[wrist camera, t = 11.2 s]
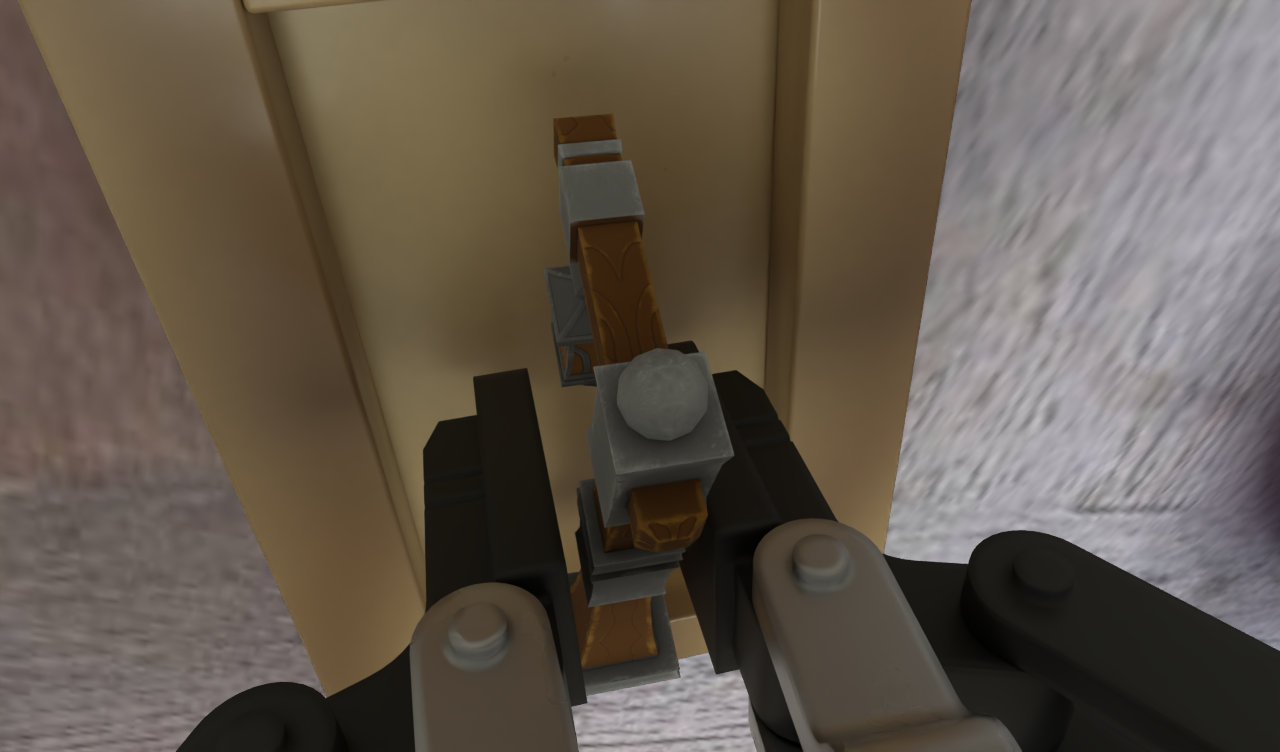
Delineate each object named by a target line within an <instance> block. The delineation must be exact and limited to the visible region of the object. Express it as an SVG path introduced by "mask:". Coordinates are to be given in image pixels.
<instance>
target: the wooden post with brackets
mask: <svg viewBox="0 0 1280 752" xmlns="http://www.w3.org/2000/svg"><path fill="white" fill-rule="evenodd" d="M553 129H554V158H555V162H556V165H557V168H558V185H559V212H560V217H561V222H562V227H563V232H564V237H565V242H566V247H567V252H568V254H567V256H568V261H569V265H568V266H559V267H550V268H544V276H545V282H546V287H547V293H548V298H549V304H550V310H551V315H552V321H551V322H550V323H551V330H552V336H553V342H554V347H555V353H556V358H557V364H558V370H559V375H560V381H561V386H562V387H569V386H576V385H584V386H594V387H596V386H597V389H596V397H595V404H594V412H593V420H592V424H591V426H590V427H589V428H588V430H587V431H586V436H587V441H588V446H589V451H590V456H591V461H592V466H593V471H594V477H595V478H593V479H586V480H580V481H579V485H580V487H579V488H576V490H577V496H578V499H576V500H577V506H578V512H579V517H580V526H579V528H578V529H577V531H576V532H575V536H576V542H577V548H578V554H579V560H580V566H581V569H580V571H578V572H572V573H568V579H569V586H570V592H571V599H572V606H573V612H574V619H575V625H576V632H577V638H578V645H579V652H580V658H581V665H582V671H583V678H584V684H585V691H586V696H588V695H593V694H598V693H603V692H609V691H614V690H619V689H624V688H629V687H635V686H640V685H645V684H650V683H655V682H660V681H666V680H671V679H676V678H681V677H680V672H679V670H680V668H679V663H678V658H677V654H676V649H675V644H674V640H673V635H672V630H671V626H670V621H669V617H668V612H667V607H666V603H665V598H664V594H666V591H665V583H666V581H667V578H668V576H669V574H670V572H671V571H672V570H674V569H677V568H679V564H678V561H680V560H683V556H682V553H683V552H686V551H685V548H686V547H689V546H690V545H691V544H692V543H693V542H694V541H695V540H696V539H698V538H699V537H700V535H701V532H702V530H703V527H704V524H705V521H706V519H707V516H708V512H707V501H706V497H707V495H708V493H709V491H710V489H711V487H712V485H713V483H714V481H715V479H716V476H717V474H718V472H719V470H720V468H721V466H722V464H724V463H725V462H726V461H728V460H729V459H731V458H732V457H733V456H734V452H733V449H732V445H731V441H730V438H729V434H728V431H727V427H726V423H725V420H724V416H723V413H722V409H721V405H720V402H719V398H718V395H717V391H716V388H715V384H714V380H713V377H712V373H711V370H710V366H709V362H708V359H707V355H706V352H698V353H691V354H683V353H681V352H680V351H678V350H670V349H668V345H667V340H666V336H665V332H664V328H663V324H662V320H661V316H660V312H659V308H658V304H657V300H656V296H655V292H654V288H653V284H652V280H651V276H650V272H649V267H648V263H647V259H646V255H645V251H644V247H643V243H642V234H643V225H644V217H645V213H644V209H643V205H642V201H641V197H640V193H639V189H638V185H637V181H636V177H635V173H634V170H633V166H632V162H631V160H625V161H622V143H621V139H617V136H616V129H615V123H614V116H613V114H601V115H589V116H577V117H565V118H554V119H553Z"/></svg>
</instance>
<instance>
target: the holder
mask: <svg viewBox="0 0 1280 752" xmlns="http://www.w3.org/2000/svg"><path fill="white" fill-rule="evenodd" d="M17 1H18V3H19V5H20V7H21V10H22V12H23V14H24V16H25V19H26V21H27V23H28V25H29V28H30V30H31V32H32V34H33V37H34V39H35V41H36V43H37V46H38V48H39V50H40V52H41V55H42V57H43V59H44V61H45V64H46V66H47V68H48V70H49V73H50V75H51V77H52V79H53V82H54V84H55V86H56V88H57V91H58V93H59V95H60V97H61V100H62V102H63V104H64V106H65V109H66V111H67V113H68V115H69V118H70V120H71V122H72V124H73V127H74V129H75V131H76V133H77V136H78V138H79V140H80V142H81V145H82V147H83V149H84V151H85V154H86V156H87V158H88V160H89V163H90V165H91V167H92V169H93V172H94V174H95V176H96V178H97V181H98V183H99V185H100V187H101V190H102V192H103V194H104V196H105V199H106V201H107V203H108V205H109V208H110V210H111V212H112V214H113V217H114V219H115V221H116V223H117V226H118V228H119V230H120V232H121V235H122V237H123V239H124V241H125V244H126V246H127V248H128V250H129V253H130V255H131V257H132V259H133V262H134V264H135V266H136V268H137V271H138V273H139V275H140V277H141V280H142V282H143V284H144V286H145V289H146V291H147V293H148V295H149V298H150V300H151V302H152V304H153V307H154V309H155V311H156V313H157V316H158V318H159V320H160V322H161V325H162V327H163V329H164V331H165V334H166V336H167V338H168V340H169V343H170V345H171V347H172V349H173V352H174V354H175V356H176V358H177V361H178V363H179V365H180V367H181V370H182V372H183V374H184V376H185V379H186V381H187V383H188V385H189V388H190V390H191V392H192V394H193V397H194V399H195V401H196V403H197V406H198V408H199V410H200V412H201V415H202V417H203V419H204V421H205V424H206V426H207V428H208V430H209V433H210V435H211V437H212V439H213V442H214V444H215V446H216V448H217V451H218V453H219V455H220V457H221V460H222V462H223V464H224V466H225V469H226V471H227V473H228V475H229V478H230V480H231V482H232V484H233V487H234V489H235V491H236V493H237V496H238V498H239V500H240V503H241V505H242V507H243V509H244V512H245V514H246V516H247V518H248V521H249V523H250V525H251V527H252V530H253V532H254V534H255V536H256V539H257V541H258V543H259V545H260V548H261V550H262V552H263V554H264V557H265V559H266V561H267V563H268V566H269V568H270V570H271V572H272V575H273V577H274V579H275V581H276V584H277V586H278V588H279V590H280V593H281V595H282V597H283V599H284V602H285V604H286V606H287V608H288V611H289V613H290V615H291V617H292V620H293V622H294V624H295V626H296V629H297V631H298V633H299V635H300V638H301V640H302V642H303V644H304V647H305V649H306V651H307V653H308V656H309V658H310V660H311V662H312V665H313V667H314V669H315V671H316V674H317V676H318V678H319V680H320V683H321V685H322V687H323V689H324V692H325V694H326V696H327V697H329V696H331V695H333V694H335V693H337V692H339V691H341V690H343V689H345V688H347V687H349V686H351V685H353V684H355V683H357V682H359V681H361V680H363V679H365V678H367V677H369V676H370V675H372V674H374V673H376V672H377V671H379V670H381V669H382V668H384V667H385V666H386V665H388V664H389V663H390V662H392V661H393V660H394V659H395V658H396V657H397V656H398V655H399V654H401V653H402V652H403V651H404V649H405V648H406V647H407V646H408V645H409V644H410V642H411V639H412V635H413V632H414V630H415V628H416V626H417V624H418V622H419V621H420V620H421V618H422V617H423V615H424V614H425V610H426V566H425V522H424V510H425V505H424V477H423V449H424V447H425V445H426V443H427V442H428V440H429V438H430V436H431V434H432V433H433V431H434V429H435V427H436V425H437V424H438V422H439V421H443V420H449V419H455V418H461V417H466V416H472V415H477V412H476V403H475V393H474V384H473V377H474V376H480V375H486V374H492V373H498V372H504V371H510V370H516V369H522V368H527V369H528V374H529V379H530V384H531V389H532V394H533V399H534V404H535V409H536V414H537V419H538V424H539V429H540V434H541V439H542V444H543V449H544V455H545V460H546V465H547V470H548V475H549V480H550V485H551V490H552V495H553V500H554V505H555V510H556V515H557V520H558V525H559V530H560V536H561V541H562V546H563V551H564V556H565V561H566V566H567V573H572V572H578V571H580V569H581V566H580V560H579V554H578V548H577V542H576V536H575V532H576V531H577V529H578V528H579V526H580V517H579V512H578V506H577V500H576V499H578V496H577V490H576V488H579V487H580V485H579V481H580V480H586V479H593V478H595V477H594V471H593V466H592V461H591V456H590V451H589V446H588V441H587V436H586V431H587V430H588V428H589V427H590V426H591V424H592V420H593V412H594V404H595V397H596V389H597V386H596V387H594V386H584V385H576V386H569V387H562V386H561V381H560V375H559V370H558V364H557V358H556V353H555V347H554V342H553V336H552V330H551V323H550V322H551V321H552V315H551V310H550V304H549V298H548V293H547V287H546V282H545V276H544V268H550V267H559V266H568V265H569V261H568V256H567V254H568V252H567V247H566V242H565V237H564V232H563V227H562V222H561V217H560V212H559V185H558V168H557V165H556V162H555V158H554V129H553V119H554V118H565V117H577V116H589V115H601V114H613V116H614V123H615V129H616V136H617V139H621V143H622V161H625V160H631V162H632V166H633V170H634V173H635V177H636V181H637V185H638V189H639V193H640V197H641V201H642V205H643V209H644V213H645V217H644V225H643V234H642V243H643V247H644V251H645V255H646V259H647V263H648V267H649V272H650V276H651V280H652V284H653V288H654V292H655V296H656V300H657V304H658V308H659V312H660V316H661V320H662V324H663V328H664V332H665V336H666V340H667V344H672V343H678V342H684V341H690V340H692V341H693V342H694V343H695V345H696V347H697V349H698V351H699V352H706V355H707V359H708V362H709V366H710V370H711V373H712V374H715V373H721V372H727V371H733V370H737V371H739V372H740V373H741V374H743V375H744V376H746V377H747V378H748V379H750V380H751V381H752V382H754V383H755V384H757V385H758V386H759V387H761V388H762V389H764V391H765V393H766V395H767V396H768V398H769V400H770V402H771V404H772V405H773V407H774V409H775V411H776V412H777V414H778V419H779V420H781V421H782V423H783V425H784V427H785V428H786V430H787V432H788V434H789V436H790V441H793V443H794V444H795V446H796V448H797V450H798V452H799V453H800V455H801V457H802V459H803V460H804V462H805V464H806V466H807V468H808V469H809V471H810V473H811V475H812V476H813V478H814V480H815V482H816V484H817V485H818V487H819V489H820V491H821V492H822V494H823V496H824V498H825V500H826V501H827V503H828V505H829V507H830V508H831V510H832V512H833V514H834V516H835V517H836V519H837V520H838V522H839V523H843V524H845V525H848V526H850V527H853V528H854V529H856V530H858V531H860V532H861V533H863V534H864V535H865V536H867V537H868V538H869V539H870V540H871V541H872V542H873V543H874V544H875V545H876V546H877V547H878V548H879V550H880V552H881V553H882V554H884V550H885V543H886V537H887V531H888V524H889V518H890V512H891V506H892V499H893V493H894V487H895V480H896V474H897V468H898V461H899V455H900V449H901V443H902V436H903V430H904V424H905V417H906V411H907V405H908V399H909V392H910V386H911V380H912V373H913V367H914V361H915V354H916V348H917V342H918V336H919V329H920V323H921V317H922V310H923V304H924V298H925V291H926V285H927V279H928V273H929V266H930V260H931V254H932V247H933V241H934V235H935V229H936V222H937V216H938V210H939V203H940V197H941V191H942V184H943V178H944V172H945V166H946V159H947V153H948V147H949V140H950V134H951V128H952V121H953V115H954V109H955V103H956V96H957V90H958V84H959V77H960V71H961V65H962V59H963V52H964V46H965V40H966V33H967V27H968V21H969V14H970V8H971V2H972V0H17ZM678 564H679V562H678ZM665 591H666V594H664V598H665V603H666V607H667V612H668V617H669V621H670V626H671V630H672V635H673V640H674V644H675V649H676V654H677V658H678V659H682V658H686V657H691V656H696V655H700V654H705V653H709V652H708V649H707V646H706V643H705V640H704V637H703V634H702V631H701V628H700V625H699V622H698V619H697V616H696V613H695V610H694V607H693V604H692V601H691V598H690V595H689V592H688V589H687V586H686V583H685V580H684V577H683V574H682V571H681V568H680V565H679V568H677V569H674V570H672V571H671V572H670V574H669V576H668V578H667V581H666V583H665Z"/></svg>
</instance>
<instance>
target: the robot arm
mask: <svg viewBox="0 0 1280 752" xmlns="http://www.w3.org/2000/svg"><path fill="white" fill-rule="evenodd" d="M667 345H668V349H670V350H678V351H680V352H681V353H683V354H691V353H698V352H699V351H698V349H697V347H696V345H695V343H694V342H693V341H692V340H690V341H684V342H678V343H672V344H667ZM712 377H713V380H714V384H715V388H716V391H717V395H718V398H719V402H720V405H721V409H722V413H723V416H724V420H725V423H726V427H727V431H728V434H729V438H730V441H731V445H732V449H733V452H734V456H733V457H732V458H731V459H729V460H728V461H726V462H725V463H724V464H722V466H721V468H720V470H719V472H718V474H717V476H716V479H715V481H714V483H713V485H712V487H711V489H710V491H709V493H708V495H707V497H706V501H707V512H708V516H707V519H706V521H705V524H704V527H703V530H702V532H701V535H700V537H699V538H698V539H696V540H695V541H694V542H693V543H692V544H691V545H690V546H689V547H686V548H685V551H686V552H683V553H682V556H683V560H680V561H678V562H679V565H680V568H681V571H682V574H683V577H684V580H685V583H686V586H687V589H688V592H689V595H690V598H691V601H692V604H693V607H694V610H695V613H696V616H697V619H698V622H699V625H700V628H701V631H702V634H703V637H704V640H705V643H706V646H707V649H708V652H709V655H710V658H711V661H712V664H713V667H714V670H715V673H716V674H720V673H725V672H729V671H734V670H738V669H740V672H741V675H742V678H743V680H744V683H745V686H746V689H747V691H748V694H749V725H750V730H751V733H752V737H753V740H754V743H755V747H756V750H757V752H1280V651H1278V650H1276V649H1275V648H1273V647H1271V646H1269V645H1267V644H1265V643H1263V642H1261V641H1259V640H1257V639H1255V638H1253V637H1251V636H1249V635H1248V634H1246V633H1244V632H1242V631H1240V630H1238V629H1236V628H1234V627H1232V626H1230V625H1228V624H1226V623H1224V622H1223V621H1221V620H1219V619H1217V618H1215V617H1213V616H1211V615H1209V614H1207V613H1205V612H1203V611H1201V610H1199V609H1197V608H1196V607H1194V606H1192V605H1190V604H1188V603H1186V602H1184V601H1182V600H1180V599H1178V598H1176V597H1174V596H1172V595H1170V594H1169V593H1167V592H1165V591H1163V590H1161V589H1159V588H1157V587H1155V586H1153V585H1151V584H1149V583H1147V582H1145V581H1144V580H1142V579H1140V578H1138V577H1136V576H1134V575H1132V574H1130V573H1128V572H1126V571H1124V570H1122V569H1120V568H1118V567H1117V566H1115V565H1113V564H1111V563H1109V562H1107V561H1105V560H1103V559H1101V558H1099V557H1097V556H1095V555H1093V554H1092V553H1090V552H1088V551H1086V550H1084V549H1082V548H1080V547H1078V546H1076V545H1074V544H1072V543H1070V542H1068V541H1066V540H1063V539H1061V538H1058V537H1055V536H1052V535H1049V534H1045V533H1040V532H1035V531H1026V530H1018V531H1007V532H1001V533H998V534H995V535H992V536H990V537H988V538H986V539H984V540H983V541H982V542H981V543H979V544H978V545H977V546H976V548H975V549H974V550H973V552H972V554H971V557H970V559H969V563H968V564H959V563H943V562H927V561H914V560H905V559H900V558H896V557H891V556H888V555H885V554H882V553H881V552H880V550H879V548H878V547H877V546H876V545H875V544H874V543H873V542H872V541H871V540H870V539H869V538H868V537H867V536H865V535H864V534H863V533H861V532H860V531H858V530H856V529H854V528H853V527H850V526H848V525H845V524H843V523H839V522H838V520H837V519H836V517H835V516H834V514H833V512H832V510H831V508H830V507H829V505H828V503H827V501H826V500H825V498H824V496H823V494H822V492H821V491H820V489H819V487H818V485H817V484H816V482H815V480H814V478H813V476H812V475H811V473H810V471H809V469H808V468H807V466H806V464H805V462H804V460H803V459H802V457H801V455H800V453H799V452H798V450H797V448H796V446H795V444H794V443H793V441H790V436H789V434H788V432H787V430H786V428H785V427H784V425H783V423H782V421H781V420H779V419H778V414H777V412H776V411H775V409H774V407H773V405H772V404H771V402H770V400H769V398H768V396H767V395H766V393H765V391H764V389H762V388H761V387H759V386H758V385H757V384H755V383H754V382H752V381H751V380H750V379H748V378H747V377H746V376H744V375H743V374H741V373H740V372H739V371H737V370H733V371H727V372H721V373H715V374H712ZM473 384H474V393H475V403H476V412H477V415H472V416H466V417H461V418H455V419H449V420H443V421H439V422H438V424H437V425H436V427H435V429H434V431H433V433H432V434H431V436H430V438H429V440H428V442H427V443H426V445H425V447H424V449H423V477H424V505H425V510H424V522H425V566H426V610H425V614H424V615H423V617H422V618H421V620H420V621H419V622H418V624H417V626H416V628H415V630H414V632H413V635H412V639H411V642H410V644H409V645H408V646H407V647H406V648H405V649H404V651H403V652H402V653H401V654H399V655H398V656H397V657H396V658H395V659H394V660H393V661H392V662H390V663H389V664H388V665H386V666H385V667H384V668H382V669H381V670H379V671H377V672H376V673H374V674H372V675H370V676H369V677H367V678H365V679H363V680H361V681H359V682H357V683H355V684H353V685H351V686H349V687H347V688H345V689H343V690H341V691H339V692H337V693H335V694H333V695H331V696H329V697H327V698H325V697H324V696H323V695H322V694H321V693H319V692H318V691H316V690H315V689H313V688H311V687H309V686H306V685H304V684H299V683H294V682H276V683H268V684H264V685H260V686H257V687H253V688H251V689H248V690H246V691H243V692H241V693H239V694H237V695H235V696H233V697H232V698H230V699H228V700H227V701H225V702H224V703H222V704H221V705H219V706H218V707H216V708H215V709H214V710H213V711H212V712H211V713H209V714H208V715H207V716H206V717H205V718H204V719H203V720H202V721H201V722H200V723H199V724H198V725H197V726H196V728H195V729H194V730H193V731H192V732H191V734H190V735H189V736H188V737H187V739H186V740H185V741H184V742H183V743H182V745H181V746H180V747H179V748H178V750H177V751H176V752H579V750H578V744H577V738H576V732H575V726H574V721H573V715H572V709H571V707H572V706H576V705H581V704H585V703H587V698H586V691H585V684H584V678H583V671H582V665H581V658H580V652H579V645H578V638H577V632H576V625H575V619H574V612H573V606H572V599H571V592H570V586H569V579H568V573H567V566H566V561H565V556H564V551H563V546H562V541H561V536H560V530H559V525H558V520H557V515H556V510H555V505H554V500H553V495H552V490H551V485H550V480H549V475H548V470H547V465H546V460H545V455H544V449H543V444H542V439H541V434H540V429H539V424H538V419H537V414H536V409H535V404H534V399H533V394H532V389H531V384H530V379H529V374H528V369H527V368H522V369H516V370H510V371H504V372H498V373H492V374H486V375H480V376H474V377H473Z"/></svg>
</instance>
